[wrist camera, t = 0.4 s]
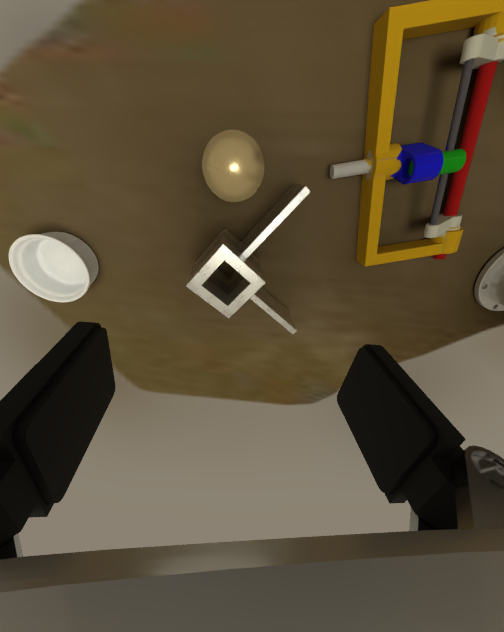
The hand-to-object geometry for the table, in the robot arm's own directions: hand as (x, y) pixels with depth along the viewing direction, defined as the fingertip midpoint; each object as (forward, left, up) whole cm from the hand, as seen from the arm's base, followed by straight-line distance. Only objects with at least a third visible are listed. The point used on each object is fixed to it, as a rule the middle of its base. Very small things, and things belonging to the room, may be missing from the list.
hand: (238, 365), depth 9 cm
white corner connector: (-8, -1, -28) cm, 29 cm away
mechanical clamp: (-9, -21, -29) cm, 37 cm away
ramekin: (+13, +19, -28) cm, 37 cm away
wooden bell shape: (+4, -5, -28) cm, 29 cm away
